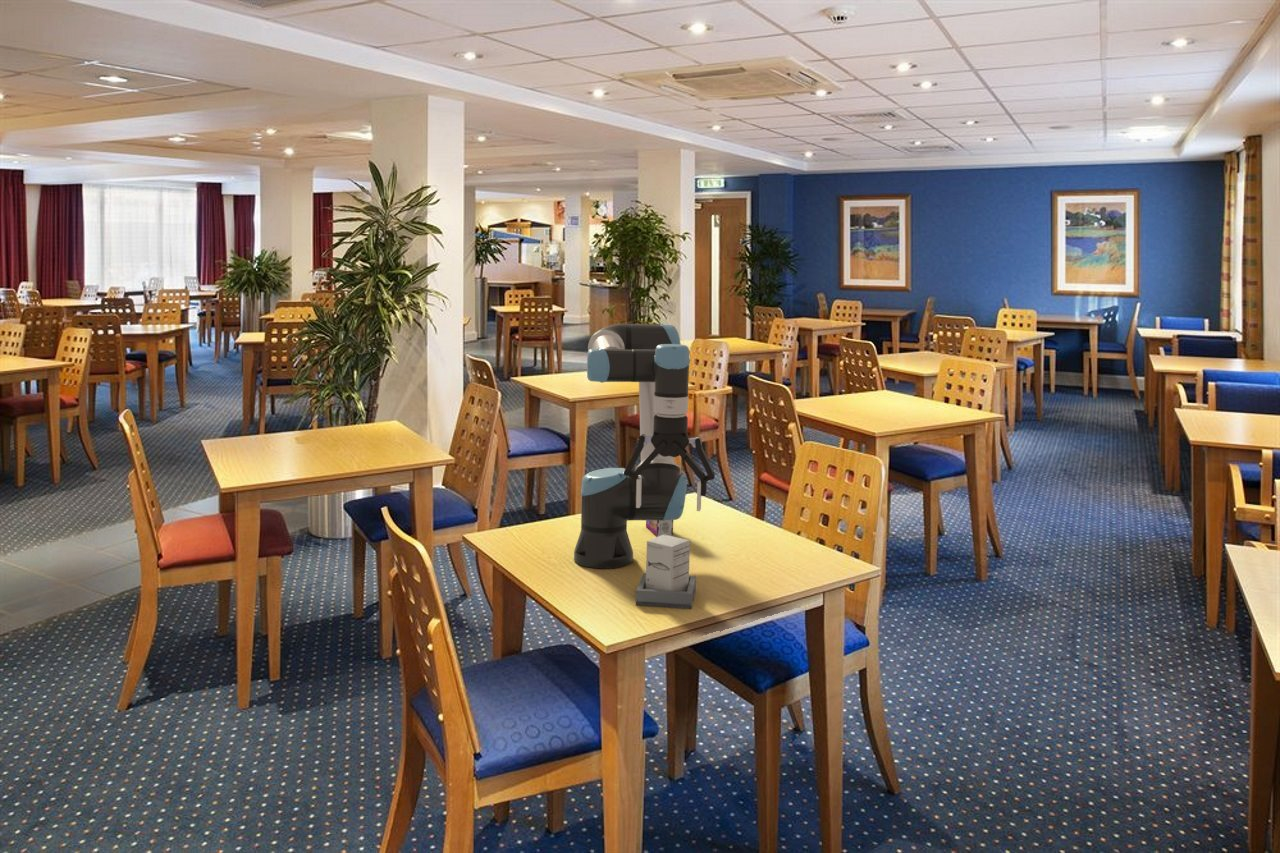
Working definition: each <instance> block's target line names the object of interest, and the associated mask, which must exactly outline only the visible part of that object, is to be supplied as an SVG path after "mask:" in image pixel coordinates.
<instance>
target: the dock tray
mask: <svg viewBox="0 0 1280 853" xmlns="http://www.w3.org/2000/svg"><path fill="white" fill-rule="evenodd" d="M696 591H697V575H689V584H688V589H687V592H684V591H668V590H652V589H646V572H643V573H642V575H641V578H640V580H639V583H638V585H637V587H636V589H635V606H639V607H653V608H654V607H656V608H668V609H669V608H670V609H683V610H684V609H687V610H692V608H693V603H694V601H695V595H696Z"/></svg>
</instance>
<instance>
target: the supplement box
mask: <svg viewBox="0 0 1280 853" xmlns="http://www.w3.org/2000/svg"><path fill="white" fill-rule="evenodd" d="M690 551H691V539H690V540H689V539H685V538H681V537H677V536H674V535H673V536H669V535H661V536H658V537H657V536H655V537H653V538H651V539H647V541H646V554H645V555H646V562H645V564H646V565H645V573H646V589H652V590H668V591H684V592H687V589H688V584H689V576H690V554H691V552H690Z"/></svg>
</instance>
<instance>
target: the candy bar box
mask: <svg viewBox="0 0 1280 853" xmlns="http://www.w3.org/2000/svg"><path fill="white" fill-rule="evenodd" d="M645 527H646V529H648V530H649V532H651V533H652V534H654V536H655V537H658V536H661V535H669V536H673V537H674V520H665V521H663V520H645Z"/></svg>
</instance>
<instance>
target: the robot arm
mask: <svg viewBox="0 0 1280 853" xmlns="http://www.w3.org/2000/svg"><path fill="white" fill-rule="evenodd" d="M678 331H679V330H677V328H676V327H675V326H674V325H673V324H662V323H657V324H655V323H654V324H653V323H652V324H651V323H648V324H647V323H617V324H612V325H611V324H610V325H608V326H605V327H602V328H600V329H599V330H597V331H596V332H594V333H593V334H592V335H591V336H590V338H589V340H588V344H587V355H586V374H587V375H586V376H587V377H586V379H587V380H588V381H589V382H595V383H596V382H597V383H638V397H639V398H638V400H639V402H638V404H639V438H638V443H637V447H636V449H635V451H634V452H633V455H632V456H631V458H630V460H629V461H628V463H627V466H625V468H624V467H607V468H606V467H605V468H600V469H596V470H593V471H590V472H588V473H585V475H584V476H583V477H582V479H581V490H580V495H581V506H580V507H581V512H580V513H581V516H580V517H581V518H580V520H581V521H580V533H579V536H578V538H577V541H576V544H575V548H574V550H573V561H574V562H575V563H576V564H577V565H580V566H581V567H582V566H583V567H587V568H590V569H591V568H592V569H616V568H621V567H625V566H628V565H630V564H632V563H633V561H634V550H633V547H632V543H631V540H630V538H629V533H628V530H627V529H628V528H627V526H628V525H627V524H628V521H646V520H663V521H665V520H673V521H676V520H678V519H681V517H682V515H683V513H684V508H685V503H686V495H687V485H688V481H687V475H686V474H683V473H681V467H680V465H678V464H677V463H676V462H675V459H674V458H677V457H679V456H680V457H681V458H682V460H684V461H685V463H686V464H687V466H688V467H690V469H691V470H692V472H693V473H694V474H695V475H696V477H697V478H698V480H697V485H696V487H697V490H696V492H697V493H696V496H697V497H696V511H697V512H701V509H702V497H706V495H707V486H708V482H709V481H713V480H714V479H715V477H716V473H715V471H714V468H713V467H712V464H711V463H710V461H709V458H708V456H707V454H706V451H705V450H704V448H703V442H702V437H701V436H696V437H689V435H688V423H689V422H688V421H689V420H688V418H689V417H687V414H688V413H689V379H690V378H689V376H690V363H691V359H690V348H689V346H687V345H685V344H681V338H680V335H679V332H678ZM689 444H691V446H692V447H693V448H695V451H696V454H697V455H698V457H699V460H700V461H701V464H702V466H703V467H704V471H705V472H706V473H705V472H704V471H703V469H701V467H700V466H699V464H698V463H697V462H696V461H695V459H693V457H692V455H690V453H689V452H688V450H687V449H686V448H687V447H688V445H689ZM639 456H640V463H639V464H638V465H636V462H637V461H638V459H639ZM635 465H636V467H635V468H634V466H635ZM633 468H634V470H633Z"/></svg>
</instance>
